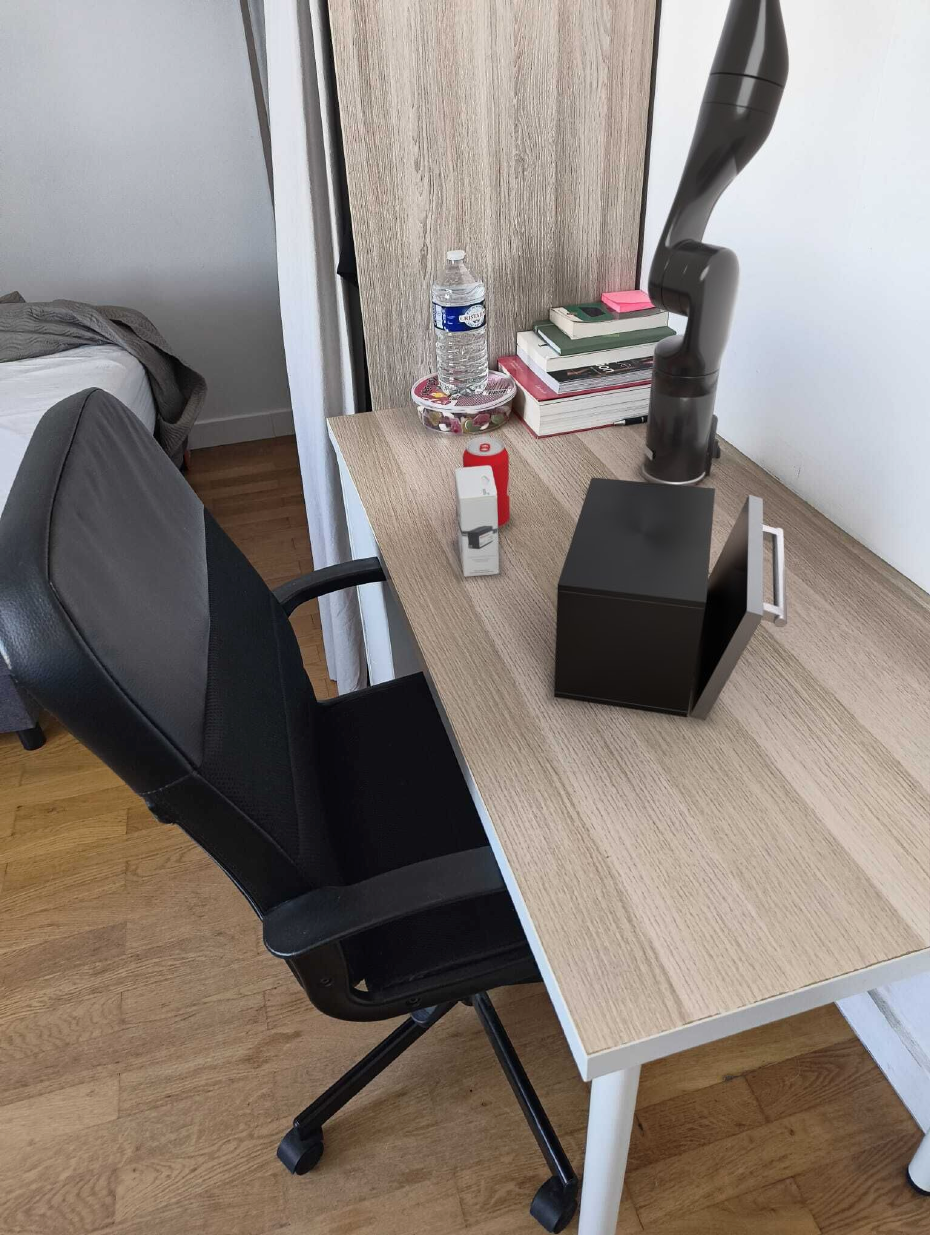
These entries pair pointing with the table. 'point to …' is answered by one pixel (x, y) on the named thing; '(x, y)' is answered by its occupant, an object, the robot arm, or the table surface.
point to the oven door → (737, 603)
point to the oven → (634, 596)
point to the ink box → (477, 520)
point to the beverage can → (497, 457)
